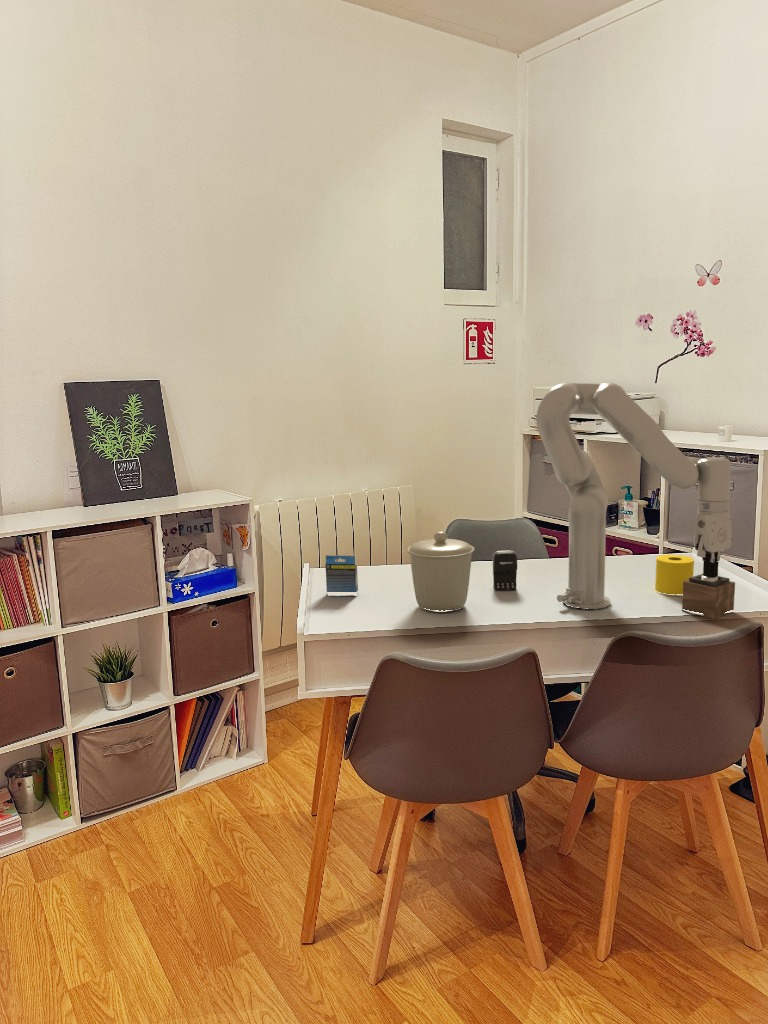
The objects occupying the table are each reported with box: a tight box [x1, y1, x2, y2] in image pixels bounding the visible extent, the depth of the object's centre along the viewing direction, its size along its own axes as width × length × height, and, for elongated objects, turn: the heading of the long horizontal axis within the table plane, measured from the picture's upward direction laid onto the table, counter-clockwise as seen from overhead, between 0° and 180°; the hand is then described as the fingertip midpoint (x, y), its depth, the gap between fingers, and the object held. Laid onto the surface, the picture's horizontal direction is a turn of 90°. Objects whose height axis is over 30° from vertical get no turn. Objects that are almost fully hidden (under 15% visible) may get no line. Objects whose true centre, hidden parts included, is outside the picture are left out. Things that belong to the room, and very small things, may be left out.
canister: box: [406, 531, 475, 611], centre depth 215 cm, size 18×18×21 cm
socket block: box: [681, 573, 736, 620], centre depth 207 cm, size 9×9×9 cm
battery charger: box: [492, 550, 518, 591], centre depth 231 cm, size 7×4×11 cm, turn 89°
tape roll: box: [654, 554, 695, 595], centre depth 226 cm, size 10×10×9 cm
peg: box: [701, 575, 719, 582], centre depth 206 cm, size 4×4×8 cm
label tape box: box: [325, 554, 359, 593], centre depth 231 cm, size 9×4×12 cm, turn 83°
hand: (710, 576), depth 206 cm, fingers closed
